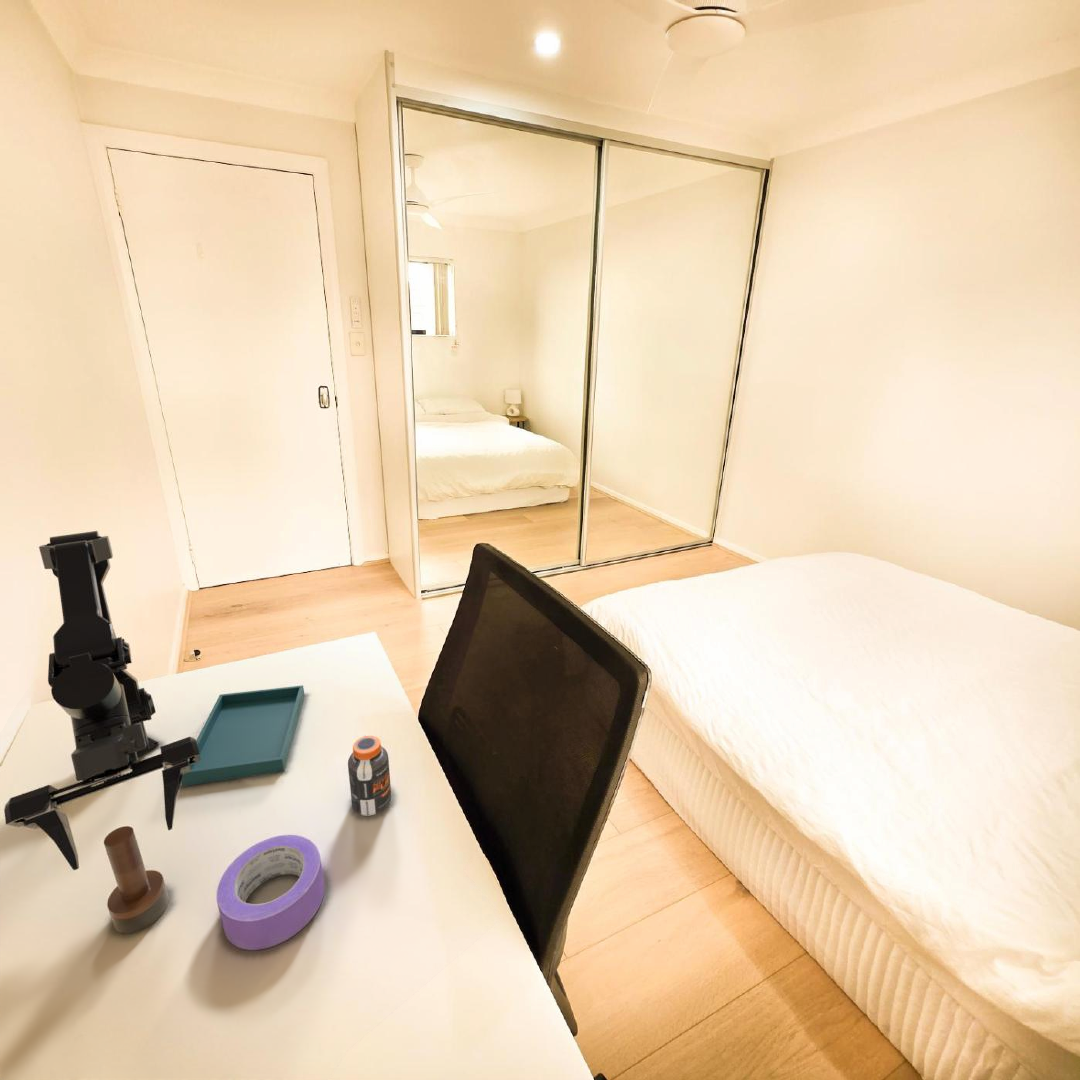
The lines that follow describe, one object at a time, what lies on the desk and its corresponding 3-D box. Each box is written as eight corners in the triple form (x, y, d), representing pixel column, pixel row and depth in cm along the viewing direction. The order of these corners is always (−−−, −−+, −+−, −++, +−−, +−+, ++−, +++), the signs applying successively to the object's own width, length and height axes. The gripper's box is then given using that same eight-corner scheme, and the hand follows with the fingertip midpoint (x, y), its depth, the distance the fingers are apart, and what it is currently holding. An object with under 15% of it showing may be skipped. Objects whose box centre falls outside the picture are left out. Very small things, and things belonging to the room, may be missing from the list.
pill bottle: (380, 820, 80) (374, 760, 76) (344, 813, 81) (337, 754, 78) (398, 790, 86) (393, 733, 82) (364, 784, 87) (358, 727, 83)
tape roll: (212, 897, 68) (205, 869, 67) (305, 845, 76) (301, 818, 74) (238, 973, 60) (231, 943, 59) (339, 906, 68) (335, 878, 66)
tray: (284, 771, 89) (282, 759, 88) (182, 786, 85) (178, 773, 84) (304, 695, 108) (303, 685, 107) (222, 705, 105) (219, 694, 104)
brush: (103, 921, 65) (77, 845, 61) (151, 882, 70) (129, 809, 66) (131, 942, 63) (106, 864, 59) (178, 900, 68) (158, 826, 64)
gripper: (-20, 744, 58) (-2, 895, 53) (183, 684, 69) (212, 806, 64) (11, 760, 66) (28, 891, 62) (187, 705, 77) (213, 813, 73)
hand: (125, 848), depth 65 cm, fingers open, 9 cm apart
